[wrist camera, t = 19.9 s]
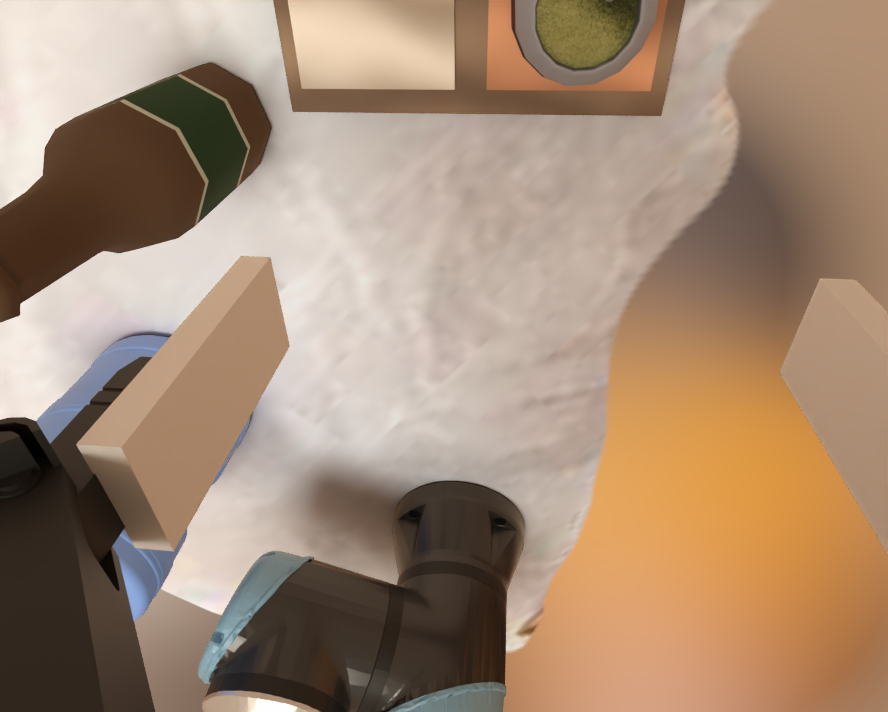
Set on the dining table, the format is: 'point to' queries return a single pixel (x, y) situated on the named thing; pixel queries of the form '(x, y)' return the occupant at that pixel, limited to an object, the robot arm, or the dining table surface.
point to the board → (449, 61)
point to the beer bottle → (130, 177)
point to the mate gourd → (581, 36)
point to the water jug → (138, 565)
